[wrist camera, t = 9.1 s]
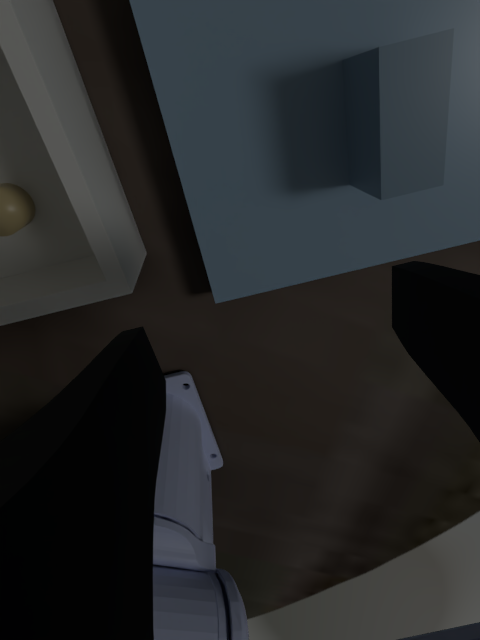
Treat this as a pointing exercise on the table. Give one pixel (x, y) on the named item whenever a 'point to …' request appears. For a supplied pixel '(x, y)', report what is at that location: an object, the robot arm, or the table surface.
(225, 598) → the robot arm
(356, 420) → the table surface
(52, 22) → the parts tub
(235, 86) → the snap lid
